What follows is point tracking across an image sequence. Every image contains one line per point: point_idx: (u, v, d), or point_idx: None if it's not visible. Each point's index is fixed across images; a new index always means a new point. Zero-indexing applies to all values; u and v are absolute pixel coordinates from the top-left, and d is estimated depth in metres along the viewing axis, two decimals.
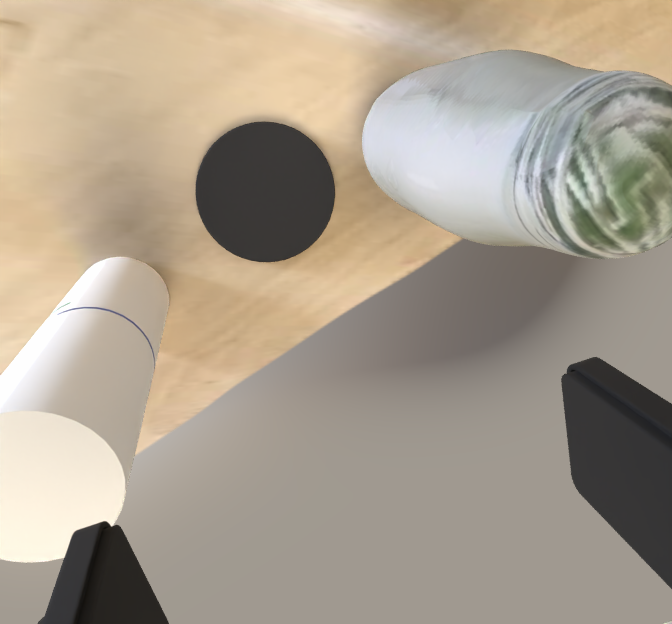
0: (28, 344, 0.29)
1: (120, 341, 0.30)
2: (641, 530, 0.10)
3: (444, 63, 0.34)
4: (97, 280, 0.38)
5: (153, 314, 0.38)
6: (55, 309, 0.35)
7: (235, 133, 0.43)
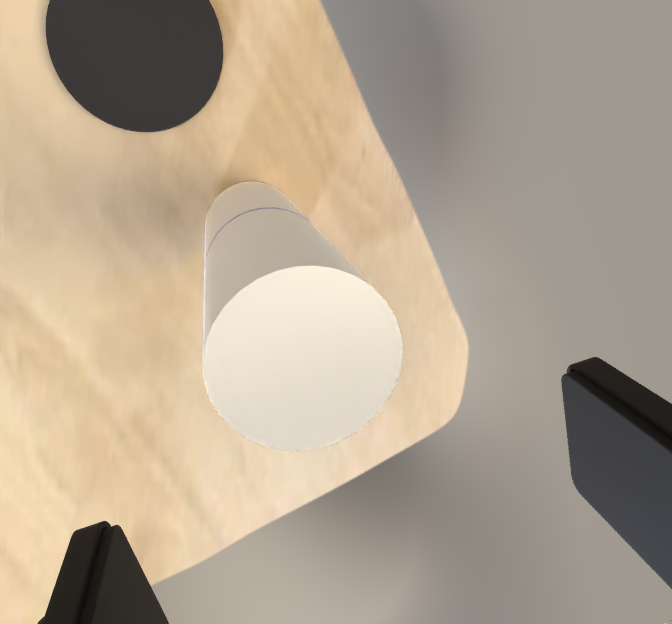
0: None
1: (225, 239, 0.27)
2: (641, 530, 0.10)
3: None
4: None
5: (242, 200, 0.34)
6: None
7: (62, 71, 0.36)
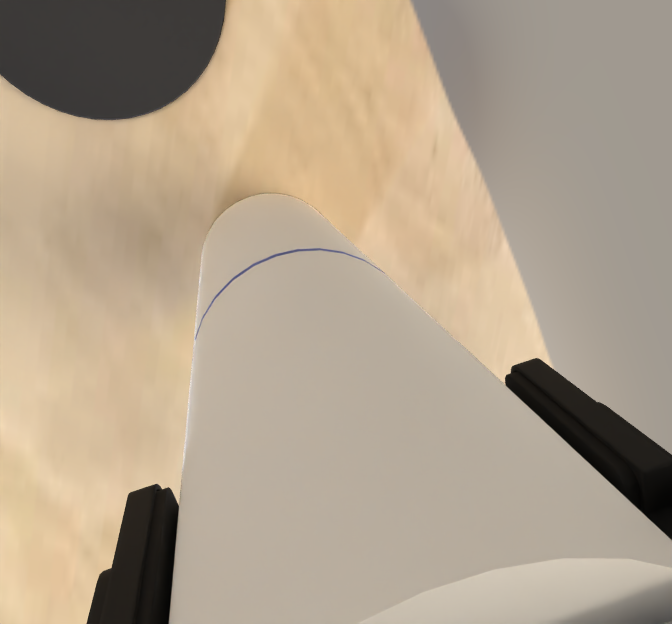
0: None
1: (229, 326, 0.13)
2: None
3: None
4: None
5: (258, 229, 0.20)
6: None
7: None
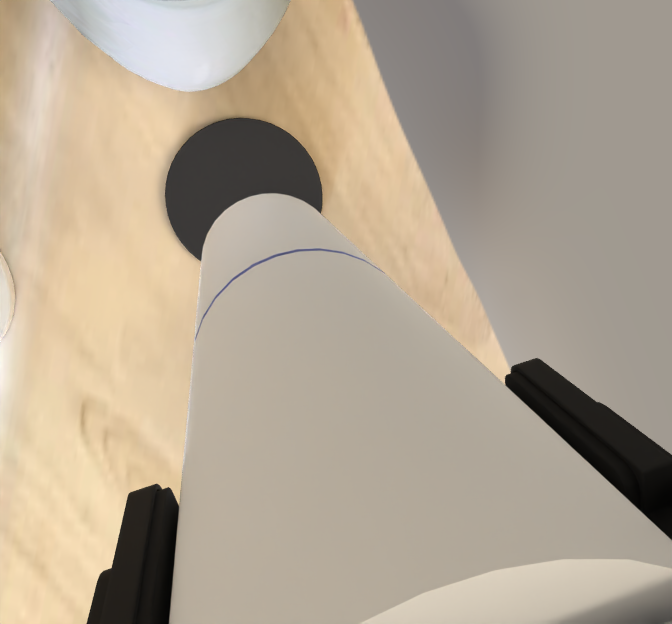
0: None
1: (229, 326, 0.13)
2: None
3: None
4: None
5: (258, 229, 0.20)
6: None
7: (178, 228, 0.40)
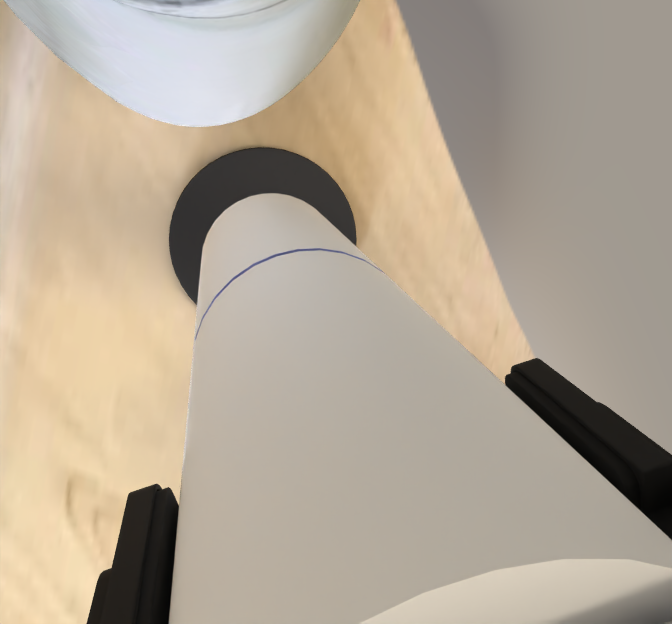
0: None
1: (229, 326, 0.13)
2: None
3: None
4: None
5: (258, 229, 0.20)
6: None
7: (184, 278, 0.33)
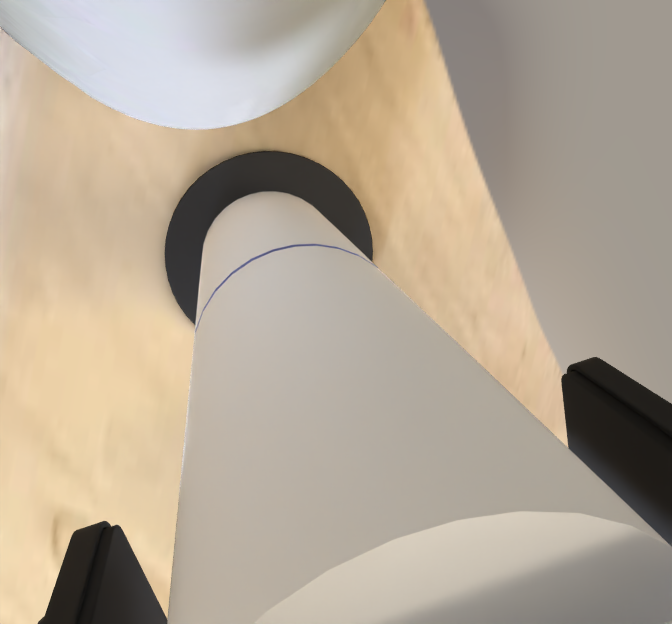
0: None
1: (228, 317, 0.14)
2: None
3: None
4: None
5: (257, 226, 0.21)
6: None
7: (181, 296, 0.30)
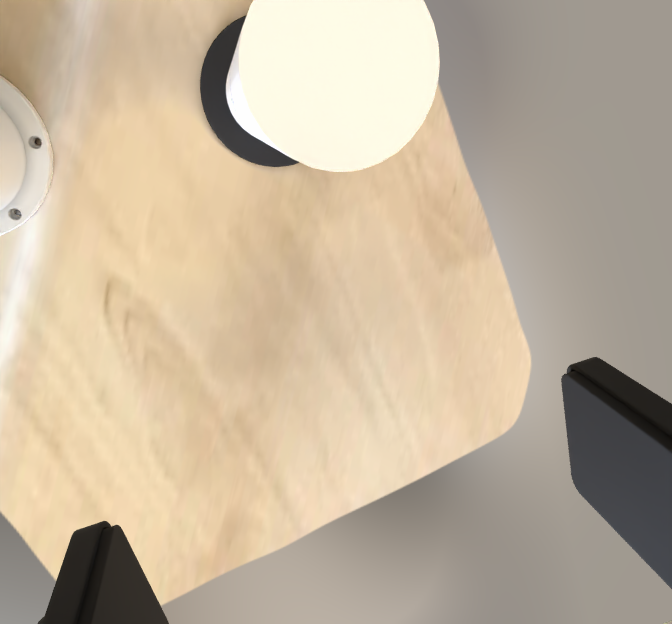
0: (242, 116, 0.28)
1: None
2: (641, 530, 0.10)
3: None
4: None
5: None
6: (240, 121, 0.34)
7: (210, 114, 0.42)
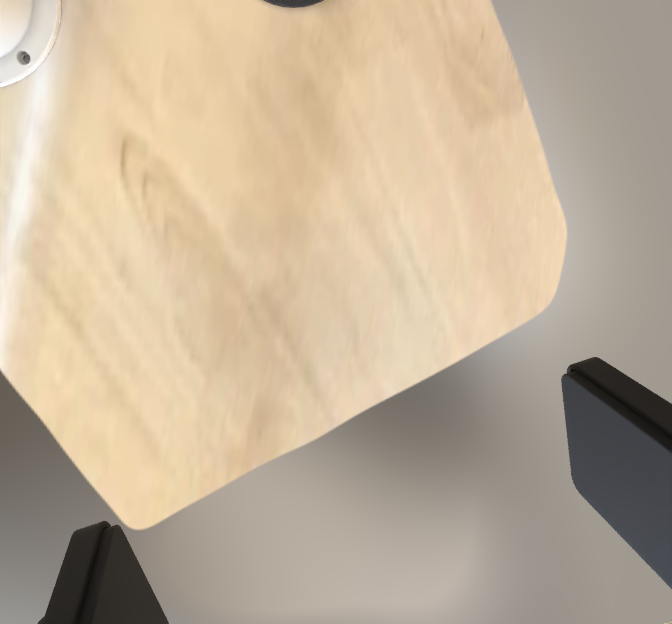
0: None
1: None
2: (641, 530, 0.10)
3: None
4: None
5: None
6: None
7: None
